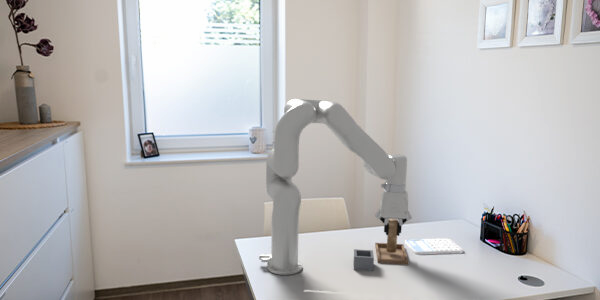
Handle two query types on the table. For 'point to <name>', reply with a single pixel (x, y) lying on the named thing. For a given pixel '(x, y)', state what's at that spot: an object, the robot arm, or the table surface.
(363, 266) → the pen cup
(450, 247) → the calculator
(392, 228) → the dowel
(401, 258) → the tray
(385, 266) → the table surface
